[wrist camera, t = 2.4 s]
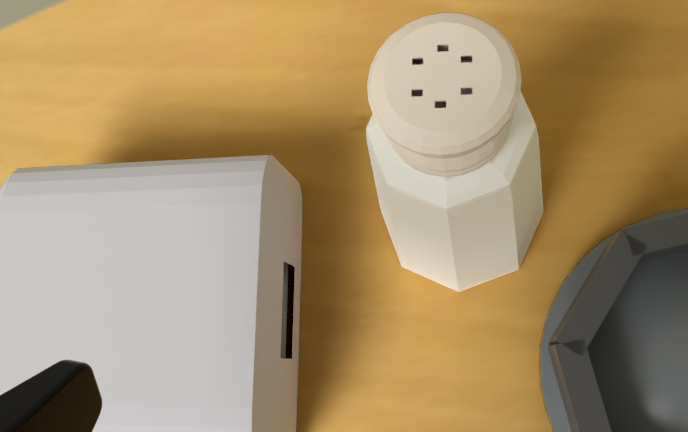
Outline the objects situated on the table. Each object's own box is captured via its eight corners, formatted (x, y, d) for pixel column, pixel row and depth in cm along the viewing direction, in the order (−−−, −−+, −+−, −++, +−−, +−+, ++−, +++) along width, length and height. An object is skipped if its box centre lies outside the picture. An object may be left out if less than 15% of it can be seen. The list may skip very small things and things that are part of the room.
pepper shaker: (384, 138, 23) (306, -48, 13) (542, 136, 22) (597, -69, 12) (378, 289, 22) (285, 221, 12) (543, 295, 21) (606, 225, 11)
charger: (-47, 202, 27) (305, 187, 24) (-83, 438, 25) (299, 454, 22) (-155, 169, 22) (265, 145, 19) (-210, 454, 20) (251, 477, 17)
